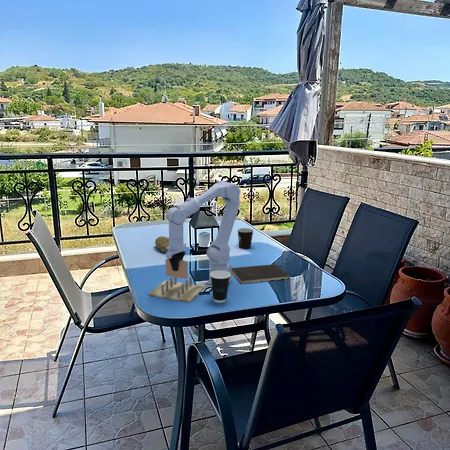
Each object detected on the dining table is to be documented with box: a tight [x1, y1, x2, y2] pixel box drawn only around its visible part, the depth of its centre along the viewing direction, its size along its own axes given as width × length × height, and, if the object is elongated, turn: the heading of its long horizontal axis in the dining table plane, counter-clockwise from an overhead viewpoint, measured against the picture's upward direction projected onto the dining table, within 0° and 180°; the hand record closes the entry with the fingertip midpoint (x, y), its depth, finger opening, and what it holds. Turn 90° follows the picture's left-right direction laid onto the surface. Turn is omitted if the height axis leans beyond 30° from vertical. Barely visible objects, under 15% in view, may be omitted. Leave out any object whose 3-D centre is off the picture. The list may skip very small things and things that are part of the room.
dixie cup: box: [210, 271, 230, 304], centre depth 161 cm, size 8×8×11 cm
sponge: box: [154, 235, 169, 253], centre depth 220 cm, size 13×8×20 cm
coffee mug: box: [237, 227, 254, 250], centre depth 229 cm, size 12×9×10 cm
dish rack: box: [148, 276, 205, 304], centre depth 168 cm, size 18×15×5 cm
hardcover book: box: [232, 263, 290, 284], centre depth 189 cm, size 16×23×2 cm
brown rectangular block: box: [164, 258, 189, 280], centre depth 167 cm, size 9×2×7 cm, turn 71°
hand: (176, 269), depth 167 cm, fingers closed on brown rectangular block, 2 cm apart
